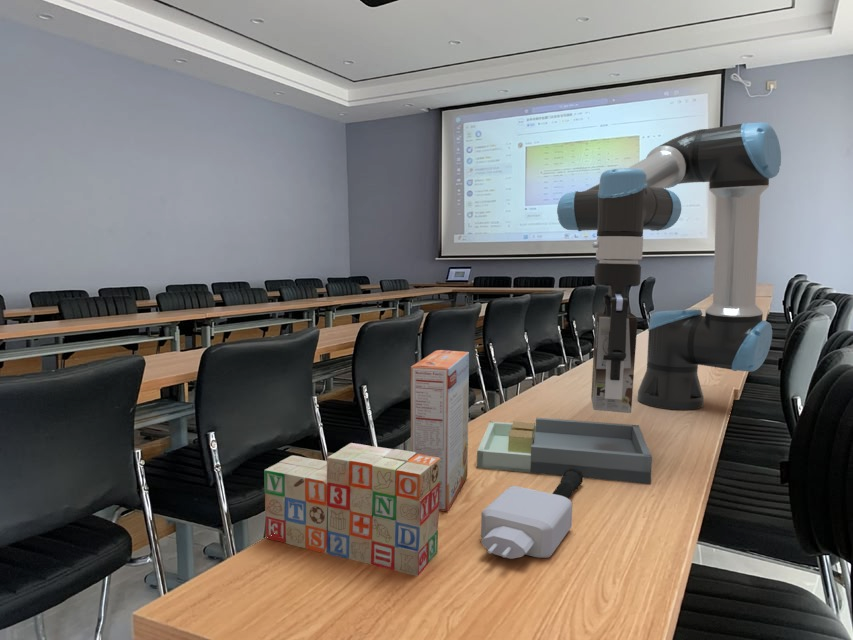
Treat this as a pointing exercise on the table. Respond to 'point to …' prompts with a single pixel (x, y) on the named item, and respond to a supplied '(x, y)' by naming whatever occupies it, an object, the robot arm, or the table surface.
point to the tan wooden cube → (524, 427)
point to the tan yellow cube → (520, 441)
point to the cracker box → (442, 417)
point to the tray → (501, 450)
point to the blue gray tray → (591, 450)
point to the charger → (525, 523)
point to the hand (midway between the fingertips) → (611, 392)
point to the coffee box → (600, 365)
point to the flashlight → (569, 483)
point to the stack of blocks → (358, 505)
